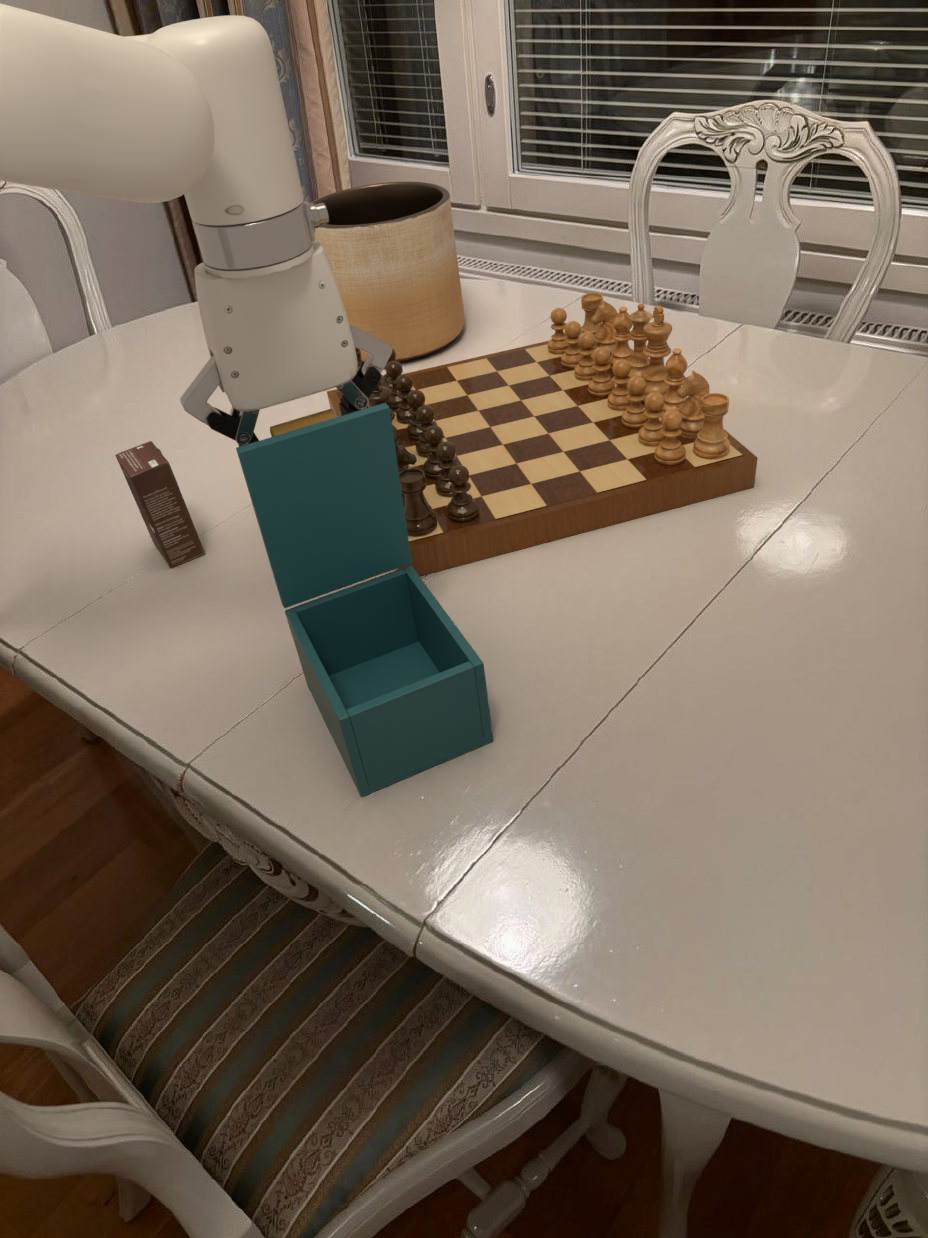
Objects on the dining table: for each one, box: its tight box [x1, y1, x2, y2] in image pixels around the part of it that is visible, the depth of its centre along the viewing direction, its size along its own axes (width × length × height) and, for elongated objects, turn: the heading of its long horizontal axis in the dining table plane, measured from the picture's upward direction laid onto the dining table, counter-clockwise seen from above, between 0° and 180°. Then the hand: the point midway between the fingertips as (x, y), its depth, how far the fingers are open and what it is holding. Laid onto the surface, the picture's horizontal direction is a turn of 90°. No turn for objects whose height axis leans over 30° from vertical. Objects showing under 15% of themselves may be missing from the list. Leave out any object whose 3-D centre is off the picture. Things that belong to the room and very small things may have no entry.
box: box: [114, 440, 206, 568], centre depth 95 cm, size 6×4×12 cm
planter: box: [308, 181, 465, 364], centre depth 132 cm, size 22×22×20 cm
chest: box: [284, 565, 494, 798], centre depth 73 cm, size 15×12×9 cm
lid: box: [235, 403, 412, 609], centre depth 71 cm, size 15×12×5 cm
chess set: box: [326, 292, 759, 577], centre depth 103 cm, size 40×40×15 cm
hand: (311, 463), depth 71 cm, fingers open, 7 cm apart
